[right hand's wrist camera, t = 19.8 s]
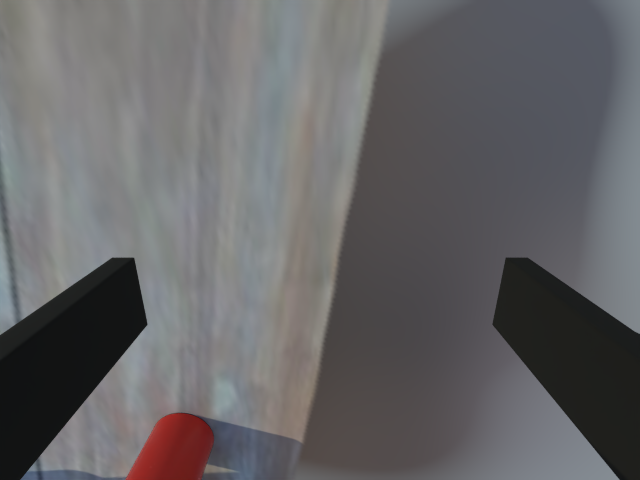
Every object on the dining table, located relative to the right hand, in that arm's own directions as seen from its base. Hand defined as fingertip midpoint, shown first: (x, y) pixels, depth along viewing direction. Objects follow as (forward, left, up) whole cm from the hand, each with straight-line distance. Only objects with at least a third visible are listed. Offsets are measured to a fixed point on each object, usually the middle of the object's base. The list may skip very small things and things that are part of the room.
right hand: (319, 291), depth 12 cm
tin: (+25, +23, -21) cm, 40 cm away
